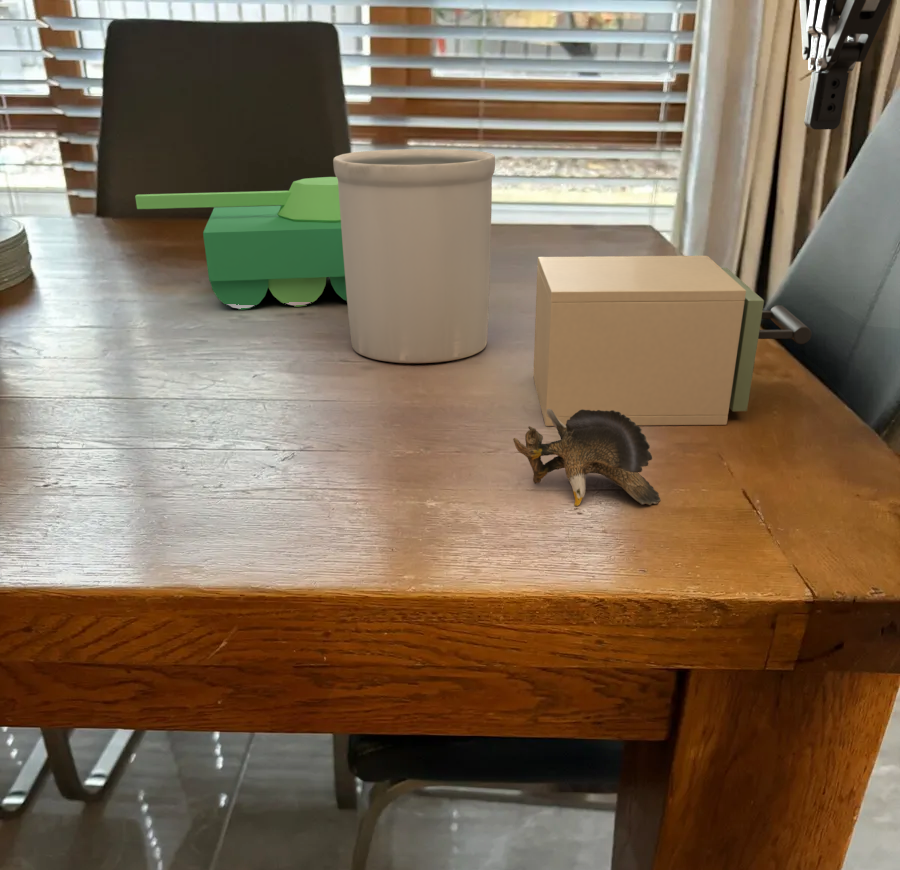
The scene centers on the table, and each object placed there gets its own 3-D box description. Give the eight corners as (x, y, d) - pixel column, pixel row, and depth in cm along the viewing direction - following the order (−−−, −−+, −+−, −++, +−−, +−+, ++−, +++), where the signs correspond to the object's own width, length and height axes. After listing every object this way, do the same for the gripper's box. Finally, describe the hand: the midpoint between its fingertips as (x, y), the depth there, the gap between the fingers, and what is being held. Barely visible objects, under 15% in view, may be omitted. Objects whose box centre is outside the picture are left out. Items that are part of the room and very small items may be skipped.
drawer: (767, 367, 88) (784, 267, 84) (807, 411, 78) (828, 299, 74) (564, 369, 88) (569, 268, 84) (579, 412, 78) (586, 301, 74)
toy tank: (144, 176, 118) (432, 169, 122) (160, 281, 124) (433, 271, 128) (122, 197, 102) (452, 188, 106) (141, 315, 109) (452, 303, 113)
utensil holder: (345, 327, 104) (333, 147, 95) (483, 322, 105) (485, 144, 96) (344, 369, 92) (331, 166, 83) (502, 363, 93) (505, 163, 84)
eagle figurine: (511, 500, 64) (651, 493, 60) (511, 392, 64) (650, 379, 61) (541, 517, 71) (667, 511, 68) (541, 420, 71) (666, 410, 68)
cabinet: (692, 375, 89) (707, 255, 84) (726, 424, 78) (746, 290, 73) (533, 377, 89) (537, 256, 84) (545, 426, 78) (551, 291, 73)
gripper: (973, -181, 59) (906, 137, 67) (887, -149, 70) (840, 120, 79) (848, -180, 59) (798, 138, 67) (783, -148, 70) (747, 121, 79)
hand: (820, 128), depth 73 cm, fingers closed
